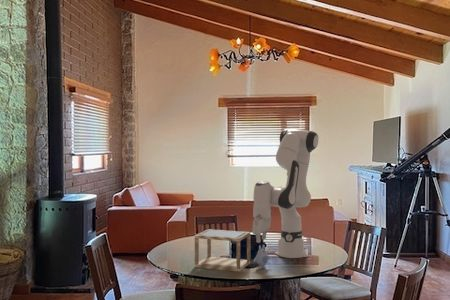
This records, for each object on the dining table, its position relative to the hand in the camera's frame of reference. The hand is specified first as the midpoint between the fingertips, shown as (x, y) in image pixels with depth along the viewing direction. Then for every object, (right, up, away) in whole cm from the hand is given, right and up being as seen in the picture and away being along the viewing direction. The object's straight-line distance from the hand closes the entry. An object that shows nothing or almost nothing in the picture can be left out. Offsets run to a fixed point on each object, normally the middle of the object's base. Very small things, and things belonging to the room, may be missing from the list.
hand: (261, 240), depth 236 cm
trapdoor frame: (-19, -14, +7) cm, 25 cm away
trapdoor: (-20, -1, +7) cm, 21 cm away
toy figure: (0, -14, +1) cm, 14 cm away
